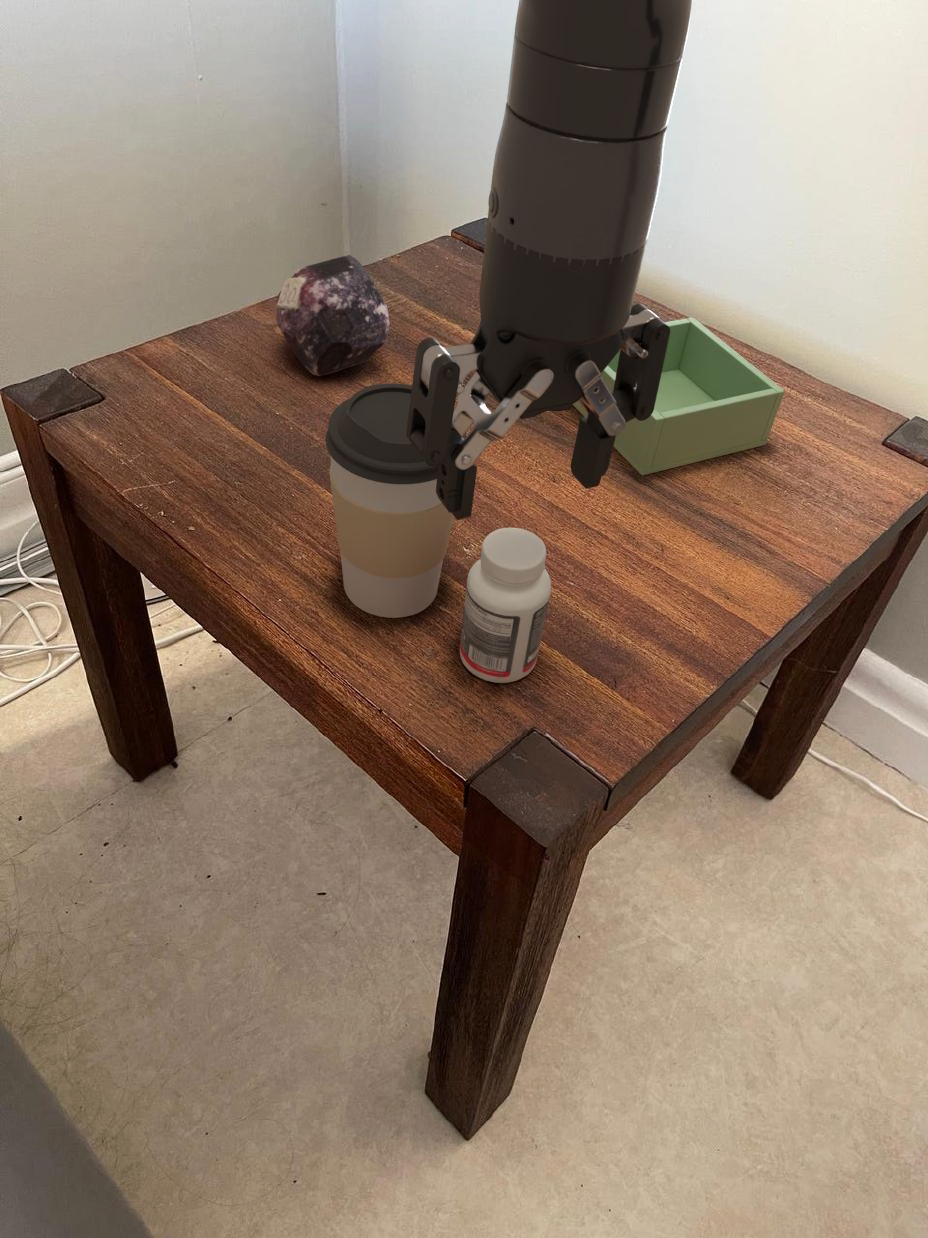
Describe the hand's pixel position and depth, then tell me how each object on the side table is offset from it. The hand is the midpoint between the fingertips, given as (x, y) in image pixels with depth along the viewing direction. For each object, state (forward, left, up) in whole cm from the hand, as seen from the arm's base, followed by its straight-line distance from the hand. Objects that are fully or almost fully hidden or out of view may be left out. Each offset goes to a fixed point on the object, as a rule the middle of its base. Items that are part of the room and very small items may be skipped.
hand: (522, 494), depth 56 cm
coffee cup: (+8, -6, -14) cm, 17 cm away
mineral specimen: (+17, -36, -14) cm, 42 cm away
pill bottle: (0, 0, -14) cm, 14 cm away
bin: (-14, -32, -14) cm, 38 cm away
